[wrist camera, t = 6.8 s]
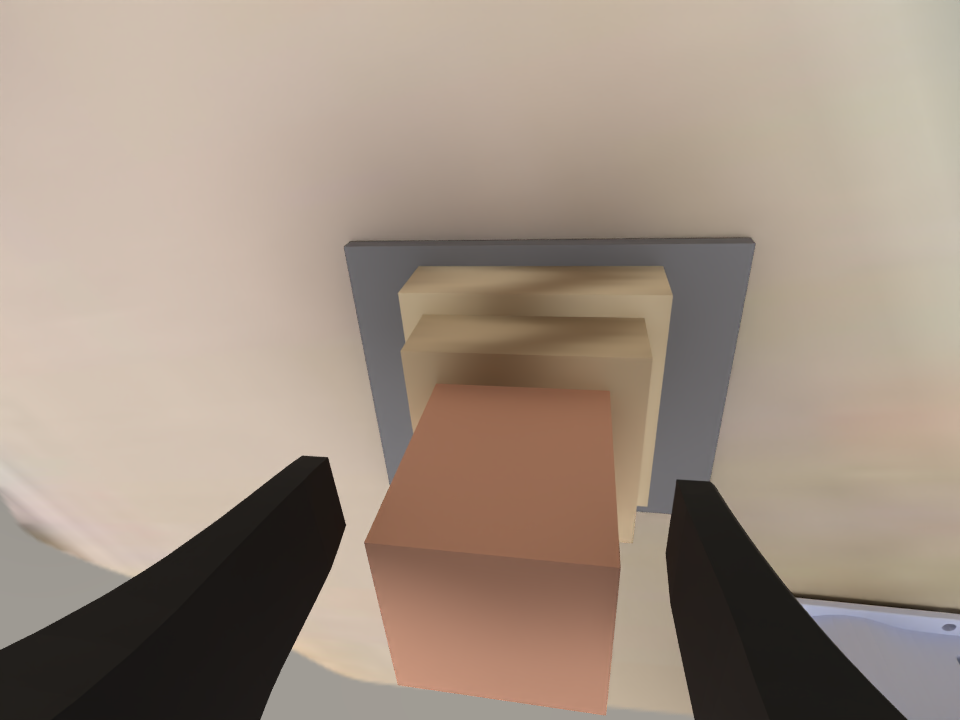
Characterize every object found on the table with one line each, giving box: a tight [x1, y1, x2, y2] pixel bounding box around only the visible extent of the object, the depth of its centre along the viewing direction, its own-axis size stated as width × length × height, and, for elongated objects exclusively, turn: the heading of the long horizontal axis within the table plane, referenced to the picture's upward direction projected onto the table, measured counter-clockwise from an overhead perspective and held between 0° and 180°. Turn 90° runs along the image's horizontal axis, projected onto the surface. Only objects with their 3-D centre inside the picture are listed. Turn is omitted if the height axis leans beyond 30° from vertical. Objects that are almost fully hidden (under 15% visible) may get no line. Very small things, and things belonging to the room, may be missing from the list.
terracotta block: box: [364, 384, 621, 715], centre depth 14 cm, size 5×5×6 cm
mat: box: [344, 238, 756, 514], centre depth 22 cm, size 14×12×1 cm
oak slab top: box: [400, 314, 653, 543], centre depth 18 cm, size 7×7×2 cm
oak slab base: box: [398, 266, 673, 507], centre depth 20 cm, size 8×8×2 cm
